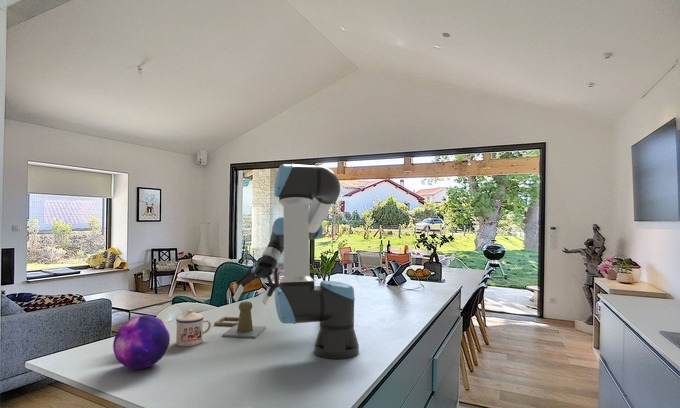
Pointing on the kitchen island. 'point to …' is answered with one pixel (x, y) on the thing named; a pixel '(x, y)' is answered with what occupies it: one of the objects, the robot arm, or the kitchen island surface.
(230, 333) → the slate coaster
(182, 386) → the kitchen island surface
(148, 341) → the decorative orb
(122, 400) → the kitchen island surface
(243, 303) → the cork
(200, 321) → the teacup with lid
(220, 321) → the walnut collar
